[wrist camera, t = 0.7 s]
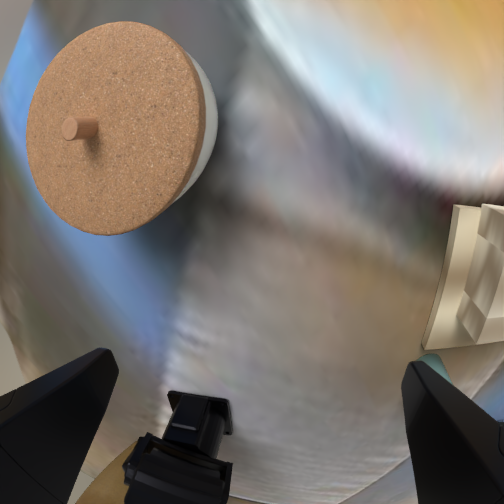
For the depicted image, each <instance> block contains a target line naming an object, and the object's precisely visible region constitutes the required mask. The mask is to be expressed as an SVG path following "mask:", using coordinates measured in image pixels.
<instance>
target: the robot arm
mask: <svg viewBox="0 0 504 504" xmlns="http://www.w3.org/2000/svg"><path fill="white" fill-rule="evenodd" d="M118 374H119V369H118V366H117V363H116V361H115V358H114V356H113V353H112V351H111V350H109V349H106V348H97V349H95V350H93V351H91V352H89V353H87V354H85V355H83V356H81V357H79V358H77V359H75V360H73V361H71V362H69V363H67V364H65V365H63V366H61V367H59V368H57V369H55V370H53V371H51V372H49V373H47V374H45V375H43V376H41V377H39V378H37V379H35V380H33V381H31V382H29V383H27V384H25V385H23V386H21V387H19V388H17V389H15V390H13V391H11V392H9V393H7V394H4V395H3V396H0V504H67V502H68V500H69V497H70V494H71V492H72V489H73V487H74V484H75V482H76V479H77V476H78V474H79V472H80V469H81V467H82V464H83V462H84V460H85V457H86V455H87V453H88V450H89V448H90V446H91V443H92V441H93V439H94V436H95V434H96V432H97V430H98V427H99V425H100V423H101V421H102V419H103V416H104V414H105V412H106V409H107V406H108V403H109V400H110V397H111V395H112V392H113V389H114V386H115V383H116V380H117V377H118ZM401 389H402V397H403V406H404V415H405V425H406V433H407V439H408V444H409V449H410V454H411V459H412V465H413V471H414V477H415V483H416V490H417V497H418V504H504V427H503V426H500V424H499V423H498V422H497V421H496V420H495V419H493V418H492V417H491V416H490V415H489V414H487V413H486V412H485V411H484V410H483V409H481V408H480V407H479V406H478V405H477V404H475V403H474V402H473V401H472V400H471V399H469V398H468V397H467V396H466V395H465V394H463V393H462V392H461V391H460V390H458V389H457V388H456V387H455V386H454V385H452V384H451V383H450V382H449V381H447V380H446V379H445V378H444V377H443V376H441V375H440V374H439V373H438V372H436V371H435V370H434V369H433V368H431V367H430V366H429V365H428V364H426V363H425V362H424V361H421V360H420V361H411V362H410V363H409V364H408V366H407V369H406V372H405V375H404V378H403V380H402V386H401ZM167 396H168V399H169V402H170V405H171V408H172V411H173V414H172V416H171V418H170V420H169V423H168V425H167V427H166V430H165V432H164V434H163V437H162V439H160V438H158V437H156V436H153V434H151V433H148V432H147V434H146V435H145V437H139V439H138V441H137V443H136V445H135V447H134V449H133V450H132V452H131V453H130V455H129V456H128V457H127V459H126V460H125V461H124V463H123V465H122V469H123V471H124V473H125V474H124V477H125V478H124V484H125V485H127V486H129V488H128V490H127V493H126V495H125V498H124V504H226V503H227V500H228V496H229V491H230V482H231V474H232V465H233V463H230V462H224V461H221V460H218V459H216V458H217V454H218V450H219V447H220V443H221V439H222V436H223V435H231V434H232V424H231V417H230V410H229V402H228V401H227V400H226V399H222V398H214V397H207V396H200V395H194V394H188V393H182V392H176V391H169V392H168V394H167Z"/></svg>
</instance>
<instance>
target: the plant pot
mask: <svg viewBox="0 0 504 504" xmlns="http://www.w3.org/2000/svg"><path fill="white" fill-rule="evenodd" d="M136 443H137V441H136V442H134V443H133V444H132V445H130V446H129V447H128V448H127V449H126V450H124V451H123V452H122V453H121V454H120V455H119V456H117V457H116V458H115V459H114V460H113V461H112V462H111V463H110V464H109V465H108V466H107V467H106V468H105V469H104V470H103V471H102V472H101V473H100V474H99V475H98V476H97V478H96V479H95V480H94V481H93V482H92V483H91V484H90V485H89V487H88V488H87V489H86V490H85V491H84V493H83V494H82V495H81V497H80V498H79V499H78V500H77V502H76V503H75V504H124V498H125V495H126V493H127V490H128V488H129V486H127V485H125V484H124V478H125V477H124V474H125V473H124V471H123V469H122V465H123V463H124V461H125V460H126V459H127V457H128V456H129V455H130V453H131V452H132V450H133V449H134V447H135V445H136Z"/></svg>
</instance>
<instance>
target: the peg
mask: <svg viewBox="0 0 504 504" xmlns="http://www.w3.org/2000/svg"><path fill="white" fill-rule="evenodd" d="M420 360H421V361H424V362H425V363H426V364H428V365H429V366H430V367H431V368H433V369H434V370H435V371H436V372H438V373H439V374H440V375H441V376H443V377H444V378H445V379H446V380H447V381H449V382H450V383H451V384H452V382H451V380H450V378H449V375H448V373H447V371H446V369H445V367H444V365H443V363H442V360H441V358H440V357H439V356H438V355H437V354H427V355H424V356H422V357H420V358H419V359H418V360H416V361H420ZM452 385H453V384H452Z"/></svg>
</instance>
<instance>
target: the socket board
mask: <svg viewBox="0 0 504 504" xmlns="http://www.w3.org/2000/svg"><path fill="white" fill-rule="evenodd" d="M500 341H504V207H503V206H496V205H489V204H482V207H481V208H480V207H472V206H463V205H453V213H452V220H451V226H450V232H449V238H448V244H447V249H446V254H445V259H444V264H443V268H442V273H441V277H440V281H439V285H438V289H437V293H436V297H435V300H434V304H433V307H432V311H431V314H430V318H429V321H428V324H427V327H426V330H425V333H424V336H423V339H422V342H421V343H422V345H423V347H424V350H431V349H443V348H453V347H462V346H471V345H479V344H486V343H494V342H500Z"/></svg>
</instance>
